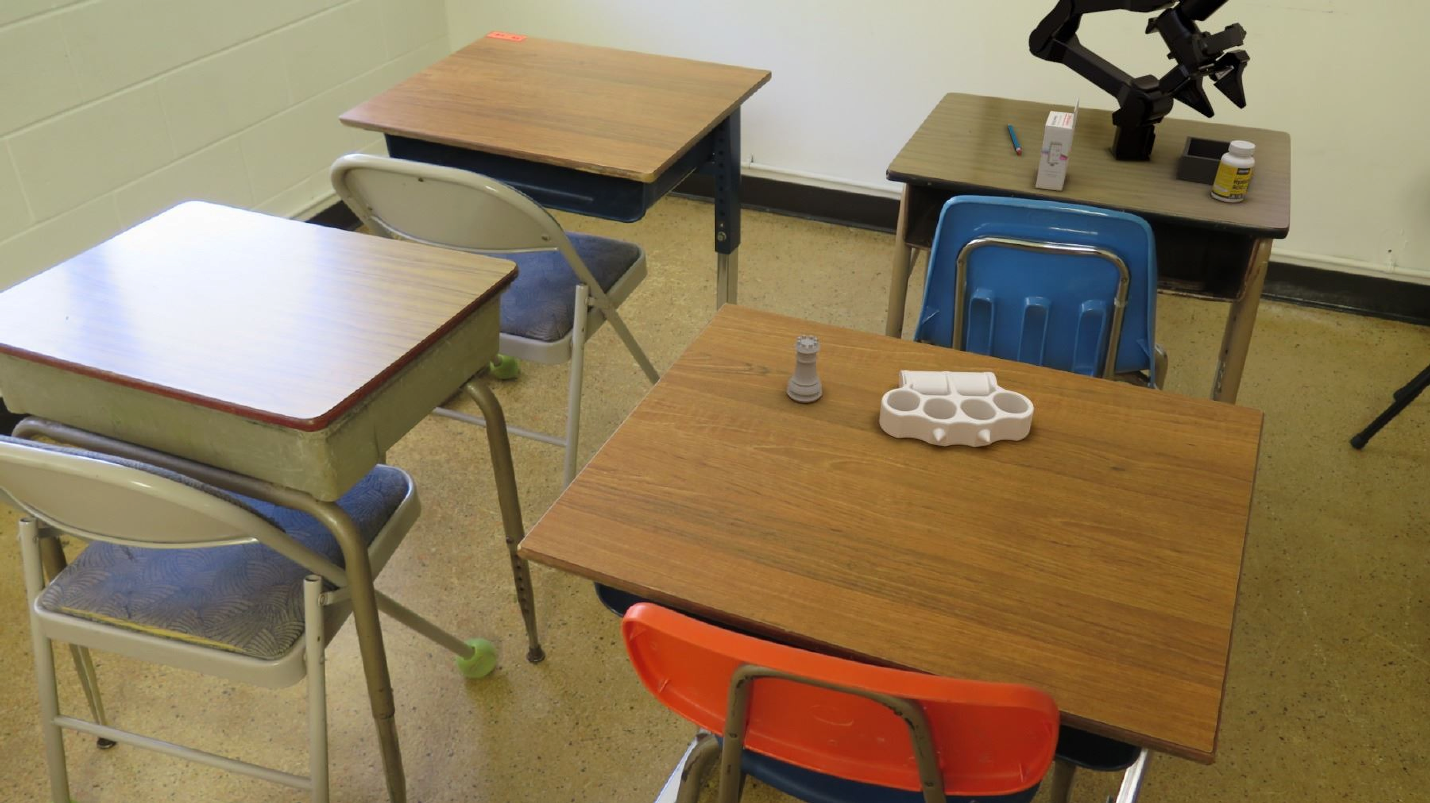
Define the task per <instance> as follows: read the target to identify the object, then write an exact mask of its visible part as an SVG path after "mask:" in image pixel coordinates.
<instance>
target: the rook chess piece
mask: <svg viewBox="0 0 1430 803" xmlns="http://www.w3.org/2000/svg"><path fill="white" fill-rule="evenodd" d="M818 340H819V339H818V338H817V337H815V336H814V335H811V334H810V335H809V336H808V337H807V334H802V335H801V336H798V337H797V340H796V342H794V344H793V348H794V350H795V351H796V352H797V353H796V354H795V355H794V358H795V360H796V363H795V368H794V373H793V374H792V375H791V377H790V379H789V380H788V382H787V388H786V393H787V394H788V396H789V397H790V399H791V400H792V401H794V402H797V403H801V404H809V403H813V402H816V401H817V400H819V398H820V397H821V396H822V394H823V390H822V388H823V384H822V381H821V380H820V376H819V375H818V373H817V372H818V371H817V361H818V359H819V356H818V355H817V353H818V352H819V351H820V350H821V345H820V343H819V342H818Z"/></svg>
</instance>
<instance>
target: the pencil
mask: <svg viewBox="0 0 1430 803" xmlns="http://www.w3.org/2000/svg"><path fill="white" fill-rule="evenodd" d="M1007 127H1008V130H1009V133H1010V136H1011V138H1012V141H1013V144H1014V147H1015V150H1016V153H1017V155H1021V154H1022V150H1021V147H1020V145H1019V142H1018V139H1017V136H1016V133H1015V131H1014V127H1013V125H1012V124H1011V123H1008V125H1007Z"/></svg>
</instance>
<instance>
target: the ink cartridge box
mask: <svg viewBox="0 0 1430 803" xmlns="http://www.w3.org/2000/svg"><path fill="white" fill-rule="evenodd" d="M1079 105H1080V97H1078V98H1077V100H1076V103H1075V107H1074V109H1073V113H1072V112H1065V111H1053V110H1051V111H1050V112H1049V114H1048V117H1047V119H1046V122H1045V126H1044V132H1043V134H1044V135H1043V138H1042V139H1043V140H1042V144H1041V145H1042V146H1041V153H1040V158H1039V163H1038V169H1037V170H1038V171H1037V176H1036V182H1035V188H1036V189H1043V190H1051V191H1059V192H1061V191H1063V188H1064V183H1065V180H1066V175H1067V170H1068V166H1069V162H1070V161H1069V160H1070V156H1071V150H1072V145H1073V141H1074V134H1075V130H1076V125H1077V119H1078V114H1079Z"/></svg>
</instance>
